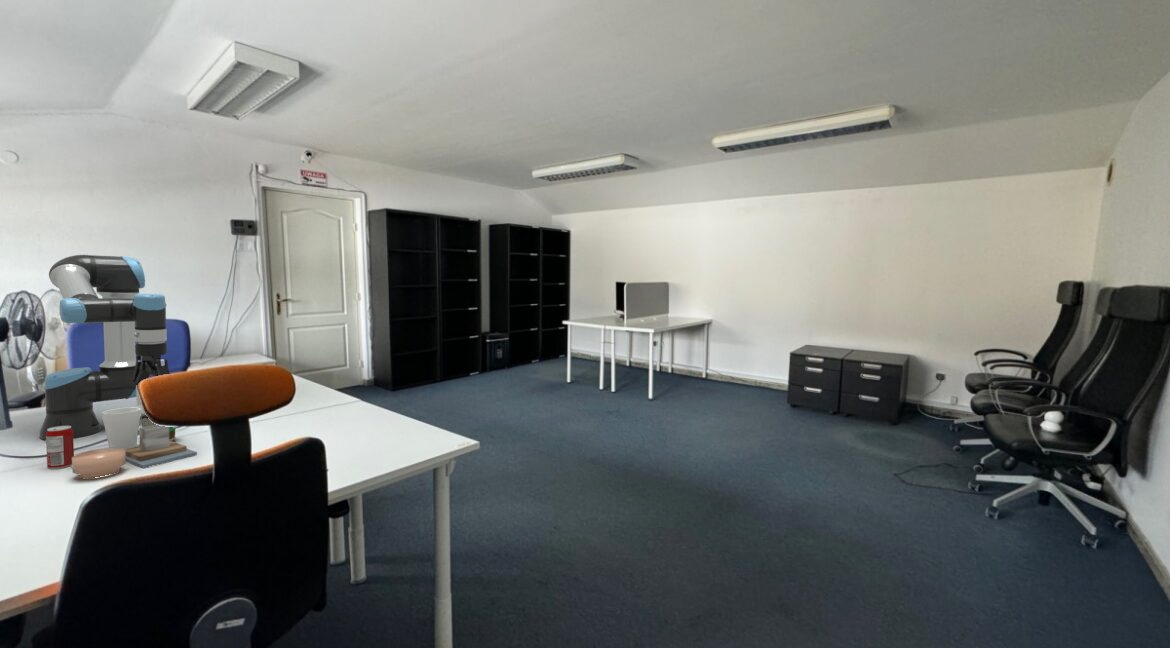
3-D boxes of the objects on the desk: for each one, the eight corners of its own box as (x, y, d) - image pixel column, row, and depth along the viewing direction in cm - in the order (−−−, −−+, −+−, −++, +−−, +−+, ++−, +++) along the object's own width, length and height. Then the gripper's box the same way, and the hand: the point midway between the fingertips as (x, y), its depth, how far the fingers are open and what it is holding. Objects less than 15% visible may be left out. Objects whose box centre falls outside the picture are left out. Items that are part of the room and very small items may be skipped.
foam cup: (98, 454, 156) (96, 415, 155) (110, 446, 164) (108, 408, 163) (137, 451, 161) (135, 412, 160) (146, 443, 169) (145, 406, 168)
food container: (188, 438, 174) (187, 411, 174) (172, 444, 168) (171, 416, 168) (157, 436, 176) (156, 409, 175) (140, 442, 169) (139, 414, 169)
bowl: (65, 476, 139) (64, 455, 139) (115, 464, 149) (115, 445, 149) (82, 484, 134) (81, 463, 134) (133, 471, 144) (132, 451, 144)
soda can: (73, 461, 150) (71, 423, 149) (75, 466, 147) (73, 427, 146) (46, 466, 146) (44, 427, 145) (48, 470, 143) (46, 430, 142)
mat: (112, 456, 155) (112, 453, 155) (165, 444, 168) (165, 441, 168) (143, 468, 147) (143, 465, 147) (196, 454, 159) (196, 451, 159)
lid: (122, 454, 154) (121, 428, 154) (167, 444, 165) (166, 419, 165) (140, 461, 149) (139, 434, 149) (186, 450, 160) (185, 425, 159)
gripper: (117, 339, 157) (119, 404, 158) (156, 347, 146) (158, 416, 147) (146, 337, 163) (148, 399, 165) (186, 345, 152) (187, 411, 154)
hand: (153, 407), depth 156 cm, fingers open, 13 cm apart
